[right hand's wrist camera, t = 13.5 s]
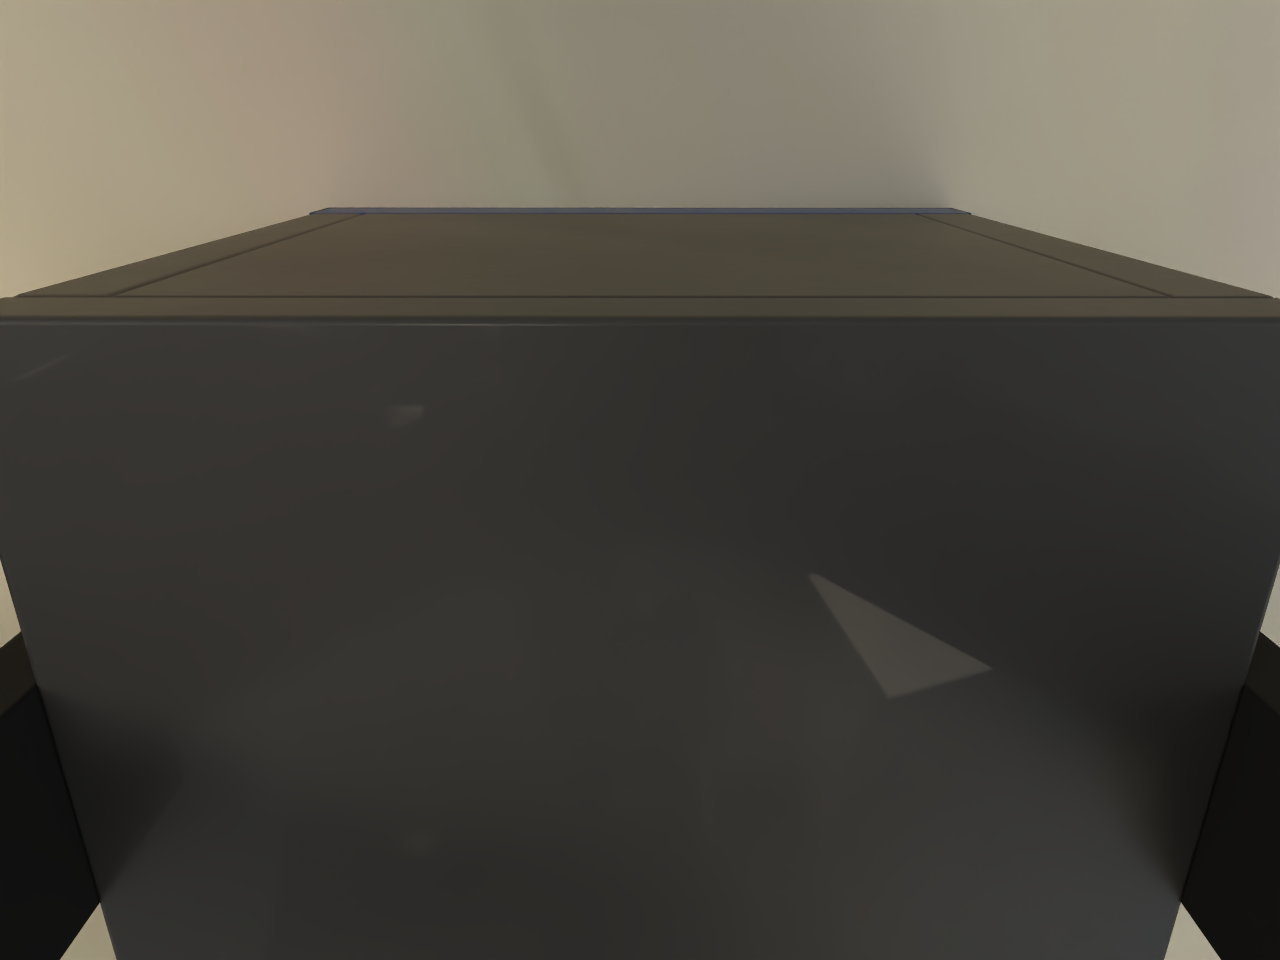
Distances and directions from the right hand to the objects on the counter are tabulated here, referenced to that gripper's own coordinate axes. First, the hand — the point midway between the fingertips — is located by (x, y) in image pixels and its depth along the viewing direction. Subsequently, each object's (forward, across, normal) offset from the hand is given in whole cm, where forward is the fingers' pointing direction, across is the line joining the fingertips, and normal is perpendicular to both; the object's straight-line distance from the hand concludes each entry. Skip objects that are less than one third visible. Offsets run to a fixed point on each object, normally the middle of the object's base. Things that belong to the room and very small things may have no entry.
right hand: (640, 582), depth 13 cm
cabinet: (+5, 0, -4) cm, 7 cm away
